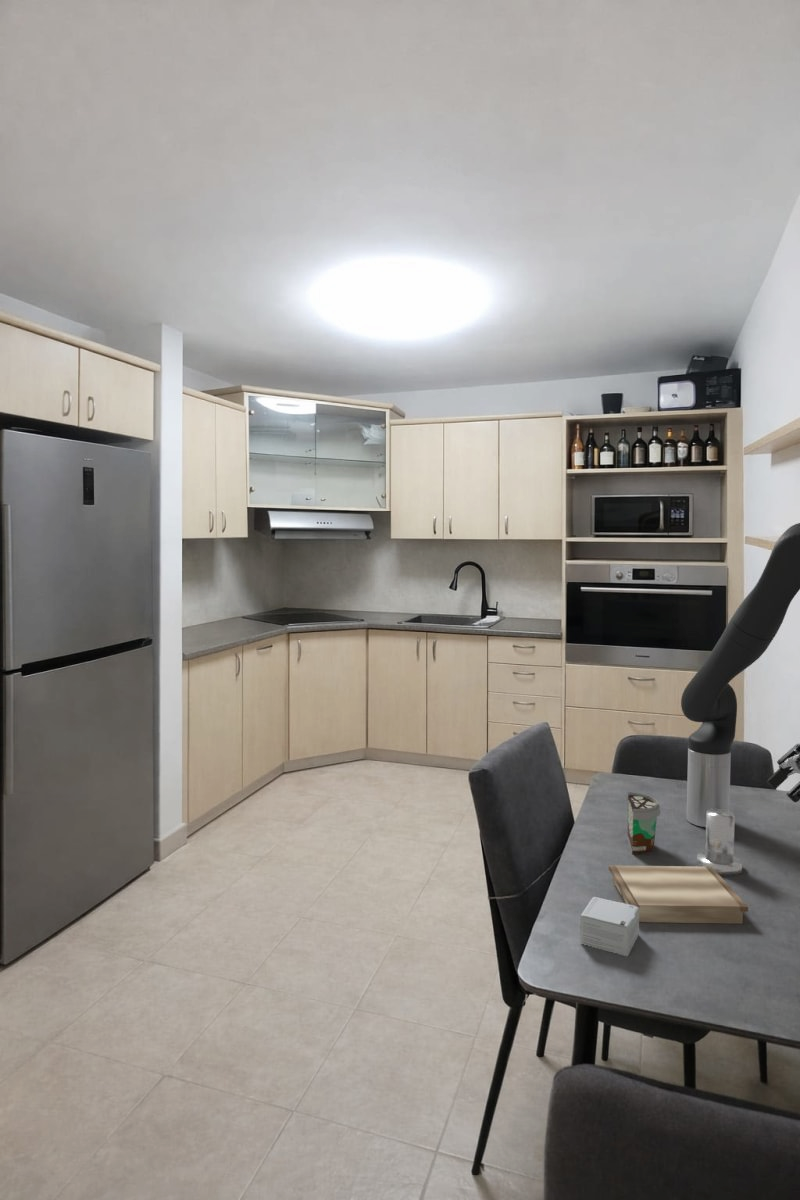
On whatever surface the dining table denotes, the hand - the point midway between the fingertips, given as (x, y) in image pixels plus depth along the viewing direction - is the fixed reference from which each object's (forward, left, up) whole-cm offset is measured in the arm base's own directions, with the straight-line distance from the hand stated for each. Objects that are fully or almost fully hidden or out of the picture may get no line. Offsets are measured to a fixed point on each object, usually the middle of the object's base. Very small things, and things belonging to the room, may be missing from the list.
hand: (780, 791), depth 148 cm
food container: (-10, -24, -16) cm, 30 cm away
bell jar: (0, -12, -16) cm, 19 cm away
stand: (+15, -26, -16) cm, 33 cm away
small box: (+29, -41, -16) cm, 52 cm away
